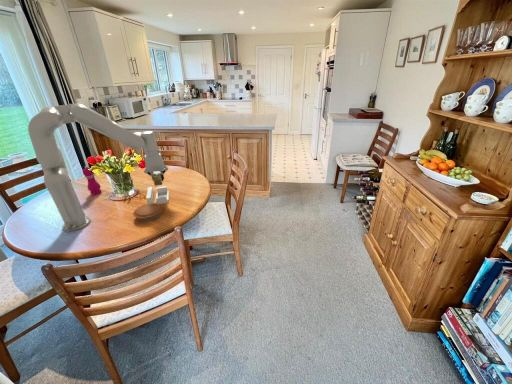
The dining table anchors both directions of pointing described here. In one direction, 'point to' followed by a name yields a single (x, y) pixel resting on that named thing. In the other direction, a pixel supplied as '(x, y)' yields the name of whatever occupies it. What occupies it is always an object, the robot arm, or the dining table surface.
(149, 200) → the jamb
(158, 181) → the stop bar
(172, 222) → the dining table surface
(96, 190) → the pepper mill
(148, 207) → the pie
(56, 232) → the dining table surface
